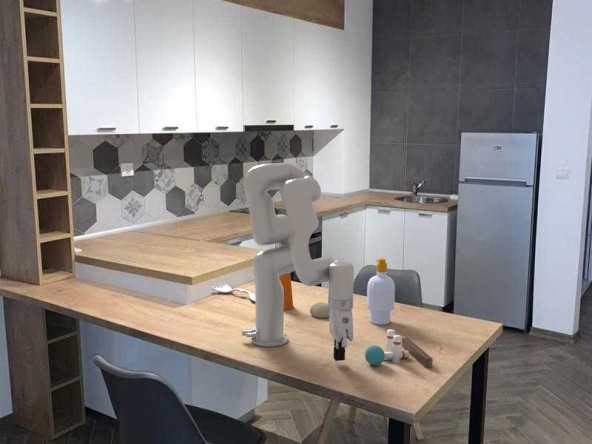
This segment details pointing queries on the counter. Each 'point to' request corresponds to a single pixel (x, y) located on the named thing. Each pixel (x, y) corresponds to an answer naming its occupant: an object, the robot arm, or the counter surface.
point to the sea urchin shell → (320, 310)
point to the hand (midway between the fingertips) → (339, 359)
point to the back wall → (417, 352)
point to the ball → (374, 355)
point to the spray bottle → (287, 290)
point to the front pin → (403, 355)
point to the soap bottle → (380, 295)
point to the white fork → (228, 289)
